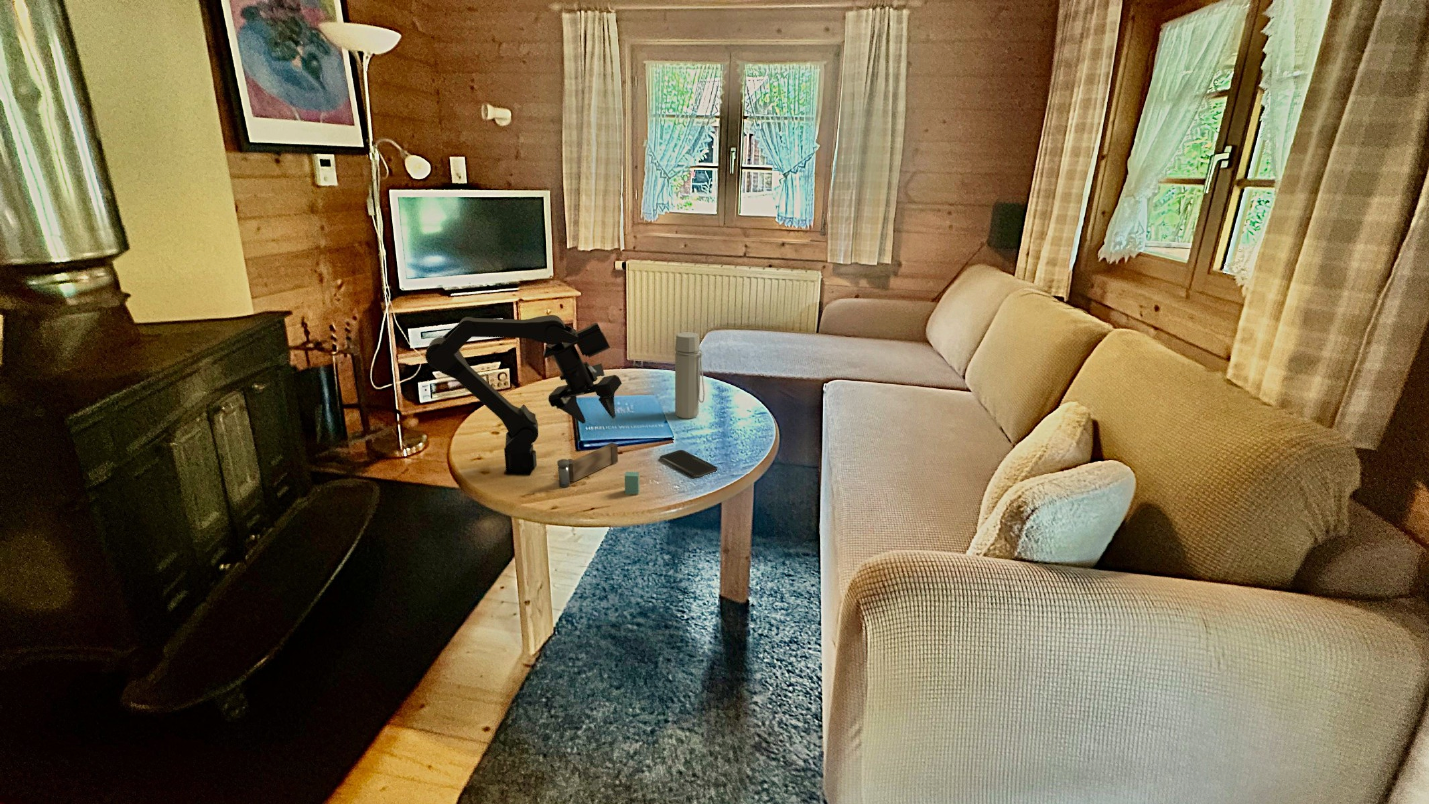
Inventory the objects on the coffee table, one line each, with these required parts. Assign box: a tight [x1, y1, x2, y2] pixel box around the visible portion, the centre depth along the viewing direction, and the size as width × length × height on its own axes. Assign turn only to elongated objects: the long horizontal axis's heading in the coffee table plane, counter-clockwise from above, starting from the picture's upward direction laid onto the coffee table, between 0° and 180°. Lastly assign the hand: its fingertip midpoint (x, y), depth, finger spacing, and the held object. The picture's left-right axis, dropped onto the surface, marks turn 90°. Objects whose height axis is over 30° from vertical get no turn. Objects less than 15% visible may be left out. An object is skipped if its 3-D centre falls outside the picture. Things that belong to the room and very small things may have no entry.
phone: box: [659, 449, 718, 479], centre depth 171 cm, size 8×1×15 cm
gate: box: [557, 442, 619, 483], centre depth 164 cm, size 18×3×6 cm, turn 145°
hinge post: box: [557, 466, 571, 489], centre depth 158 cm, size 2×2×5 cm
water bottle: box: [674, 331, 706, 420], centre depth 200 cm, size 9×8×25 cm
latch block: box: [624, 471, 640, 495], centre depth 156 cm, size 3×2×5 cm
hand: (599, 420), depth 168 cm, fingers open, 9 cm apart
